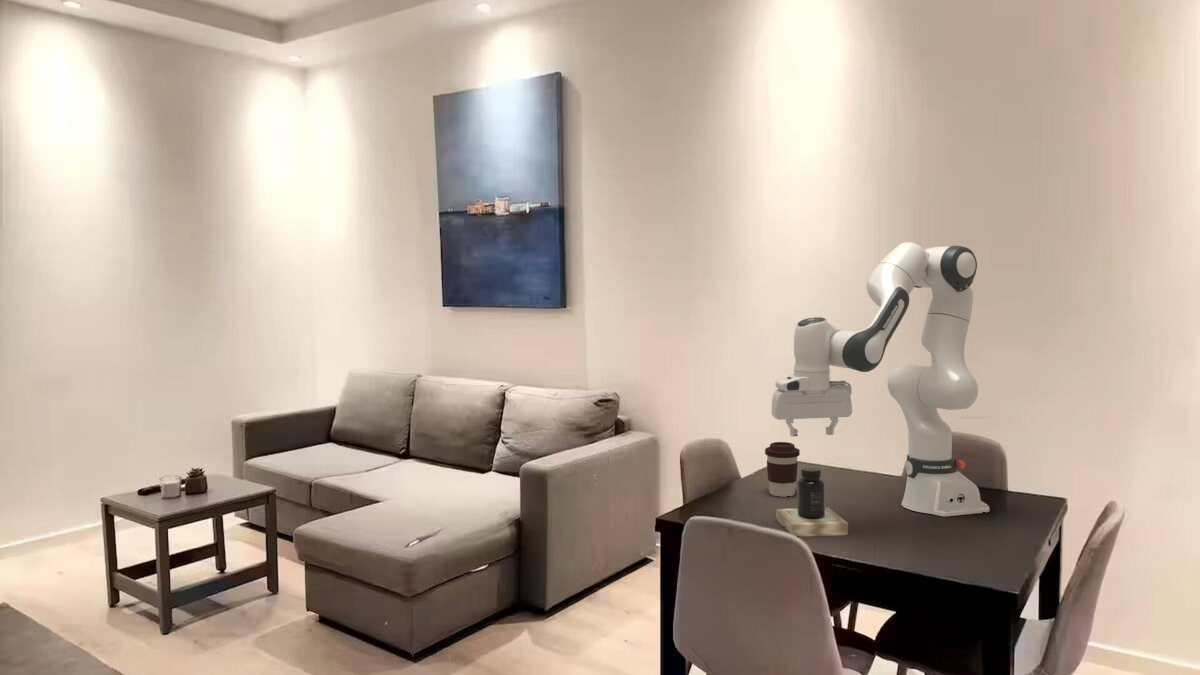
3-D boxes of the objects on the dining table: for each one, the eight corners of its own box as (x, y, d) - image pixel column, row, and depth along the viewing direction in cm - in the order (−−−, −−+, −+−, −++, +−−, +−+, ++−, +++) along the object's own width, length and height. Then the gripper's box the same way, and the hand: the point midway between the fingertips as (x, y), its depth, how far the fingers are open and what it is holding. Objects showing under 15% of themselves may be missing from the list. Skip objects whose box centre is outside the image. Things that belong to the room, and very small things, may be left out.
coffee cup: (758, 494, 244) (758, 444, 242) (778, 488, 250) (778, 439, 249) (786, 500, 236) (786, 449, 235) (806, 494, 243) (806, 443, 242)
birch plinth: (828, 518, 219) (828, 506, 218) (847, 534, 205) (848, 522, 204) (776, 520, 218) (776, 508, 217) (792, 536, 204) (792, 524, 203)
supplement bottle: (826, 513, 212) (827, 467, 212) (822, 520, 206) (823, 473, 205) (799, 510, 215) (799, 465, 214) (795, 517, 209) (795, 471, 208)
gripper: (846, 378, 214) (846, 431, 215) (769, 381, 212) (769, 434, 213) (856, 382, 208) (856, 436, 209) (776, 384, 206) (776, 439, 207)
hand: (811, 435), depth 211 cm, fingers open, 8 cm apart
